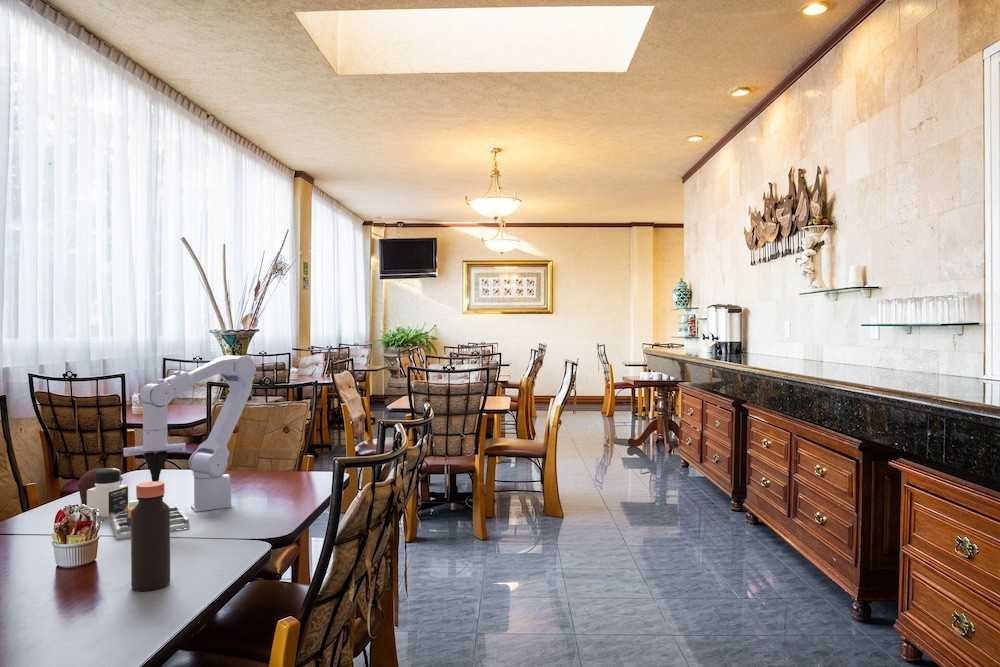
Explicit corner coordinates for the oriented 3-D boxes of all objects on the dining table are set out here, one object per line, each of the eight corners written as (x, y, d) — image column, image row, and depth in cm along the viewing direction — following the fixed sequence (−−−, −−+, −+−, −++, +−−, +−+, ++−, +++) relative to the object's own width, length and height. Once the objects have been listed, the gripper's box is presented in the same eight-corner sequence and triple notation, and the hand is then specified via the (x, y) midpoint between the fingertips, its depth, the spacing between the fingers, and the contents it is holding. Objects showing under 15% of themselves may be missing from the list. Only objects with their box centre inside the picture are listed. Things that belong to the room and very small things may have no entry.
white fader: (140, 515, 178) (140, 499, 178) (141, 518, 176) (141, 501, 176) (127, 517, 177) (127, 500, 177) (128, 520, 174) (128, 502, 174)
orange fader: (140, 523, 171) (140, 506, 171) (141, 526, 169) (141, 508, 169) (126, 525, 169) (126, 507, 169) (127, 528, 167) (127, 510, 167)
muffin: (67, 506, 193) (67, 471, 193) (103, 497, 204) (103, 464, 203) (97, 510, 189) (96, 474, 189) (132, 501, 199) (131, 466, 199)
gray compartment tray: (177, 512, 187) (177, 504, 187) (189, 528, 172) (189, 519, 172) (110, 521, 178) (110, 513, 178) (116, 539, 163) (116, 530, 163)
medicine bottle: (109, 517, 182) (108, 472, 182) (86, 516, 183) (86, 471, 183) (128, 510, 189) (128, 467, 189) (106, 509, 190) (106, 466, 190)
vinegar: (129, 594, 129) (129, 489, 129) (133, 582, 135) (132, 482, 135) (169, 588, 132) (168, 486, 132) (170, 577, 138) (170, 479, 138)
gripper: (182, 425, 186) (182, 474, 186) (122, 429, 178) (122, 481, 178) (187, 428, 180) (187, 479, 180) (125, 433, 172) (125, 486, 172)
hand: (155, 480), depth 179 cm, fingers closed
